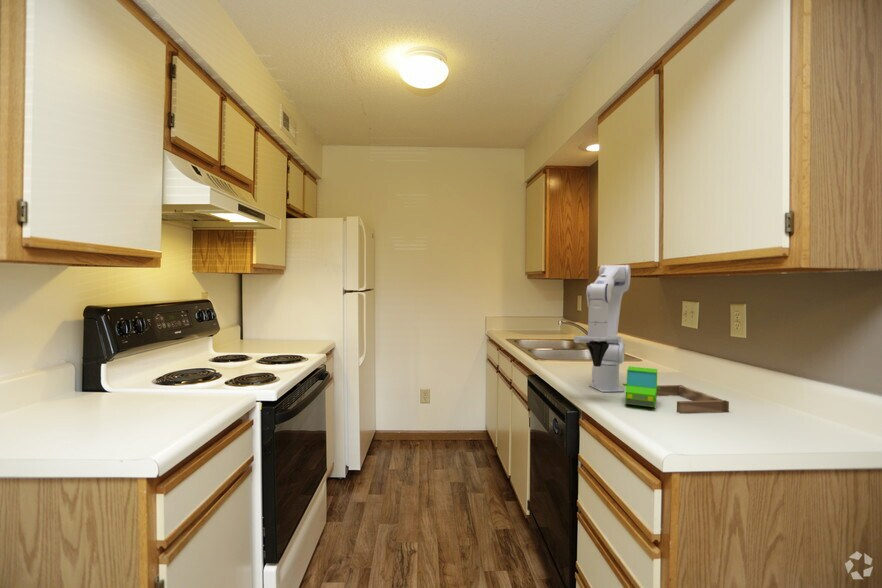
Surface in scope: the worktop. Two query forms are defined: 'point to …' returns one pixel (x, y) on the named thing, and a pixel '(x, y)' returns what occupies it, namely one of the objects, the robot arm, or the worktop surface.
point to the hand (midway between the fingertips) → (596, 366)
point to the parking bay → (693, 400)
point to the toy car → (641, 386)
